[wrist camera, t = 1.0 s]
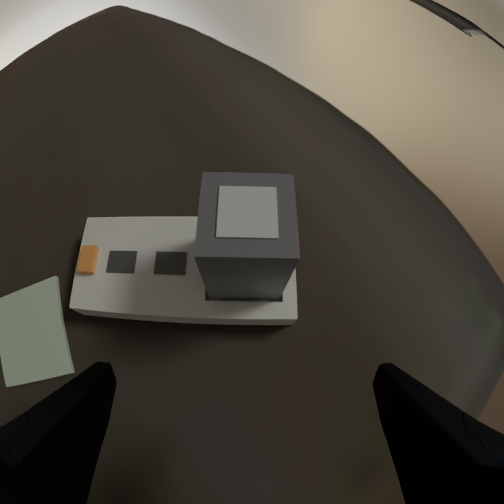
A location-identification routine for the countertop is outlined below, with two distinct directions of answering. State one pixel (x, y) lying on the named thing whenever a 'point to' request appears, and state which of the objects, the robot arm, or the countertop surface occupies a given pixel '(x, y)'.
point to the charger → (246, 234)
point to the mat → (33, 335)
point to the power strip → (160, 277)
